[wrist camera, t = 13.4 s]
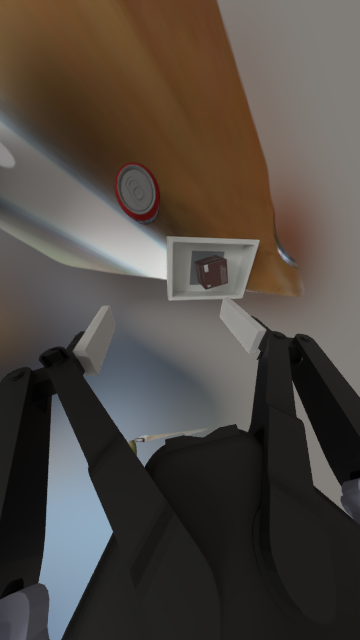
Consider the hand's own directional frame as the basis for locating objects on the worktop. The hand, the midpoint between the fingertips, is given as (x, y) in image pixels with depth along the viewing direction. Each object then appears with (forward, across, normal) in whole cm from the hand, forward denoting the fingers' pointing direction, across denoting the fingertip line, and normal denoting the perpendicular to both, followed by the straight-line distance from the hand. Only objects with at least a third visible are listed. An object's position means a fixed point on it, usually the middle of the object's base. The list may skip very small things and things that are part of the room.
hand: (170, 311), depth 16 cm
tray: (+25, +13, -1) cm, 28 cm away
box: (+24, +13, -1) cm, 27 cm away
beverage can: (+26, -3, +12) cm, 29 cm away
